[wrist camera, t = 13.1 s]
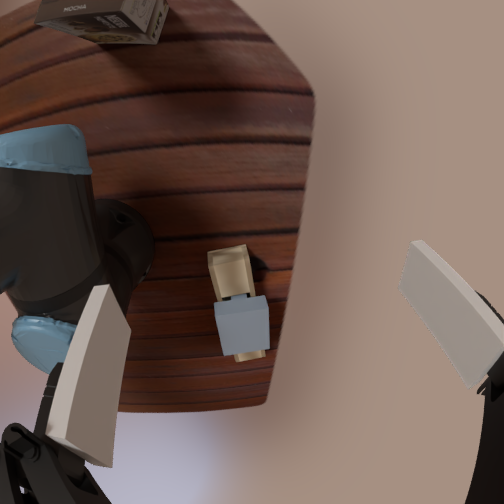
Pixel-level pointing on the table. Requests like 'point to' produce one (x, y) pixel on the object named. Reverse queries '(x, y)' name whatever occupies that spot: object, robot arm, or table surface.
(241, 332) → the grey plastic block
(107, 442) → the robot arm
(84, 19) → the coffee box
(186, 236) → the table surface
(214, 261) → the rail
